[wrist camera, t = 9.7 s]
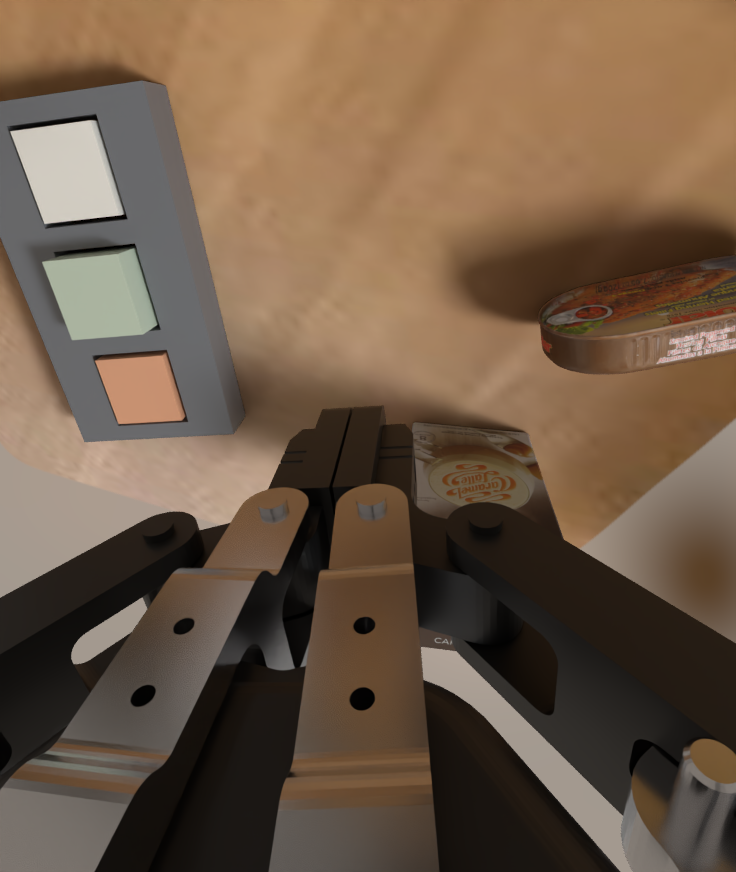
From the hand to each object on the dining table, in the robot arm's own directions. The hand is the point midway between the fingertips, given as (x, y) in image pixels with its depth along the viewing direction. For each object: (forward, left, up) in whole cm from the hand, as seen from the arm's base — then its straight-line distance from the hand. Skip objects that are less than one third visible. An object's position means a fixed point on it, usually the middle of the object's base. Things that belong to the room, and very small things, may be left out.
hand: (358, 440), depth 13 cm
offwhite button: (-7, -19, -25) cm, 32 cm away
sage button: (0, -19, -23) cm, 30 cm away
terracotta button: (+7, -19, -25) cm, 32 cm away
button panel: (0, -19, -25) cm, 31 cm away
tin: (+4, +16, -25) cm, 30 cm away
